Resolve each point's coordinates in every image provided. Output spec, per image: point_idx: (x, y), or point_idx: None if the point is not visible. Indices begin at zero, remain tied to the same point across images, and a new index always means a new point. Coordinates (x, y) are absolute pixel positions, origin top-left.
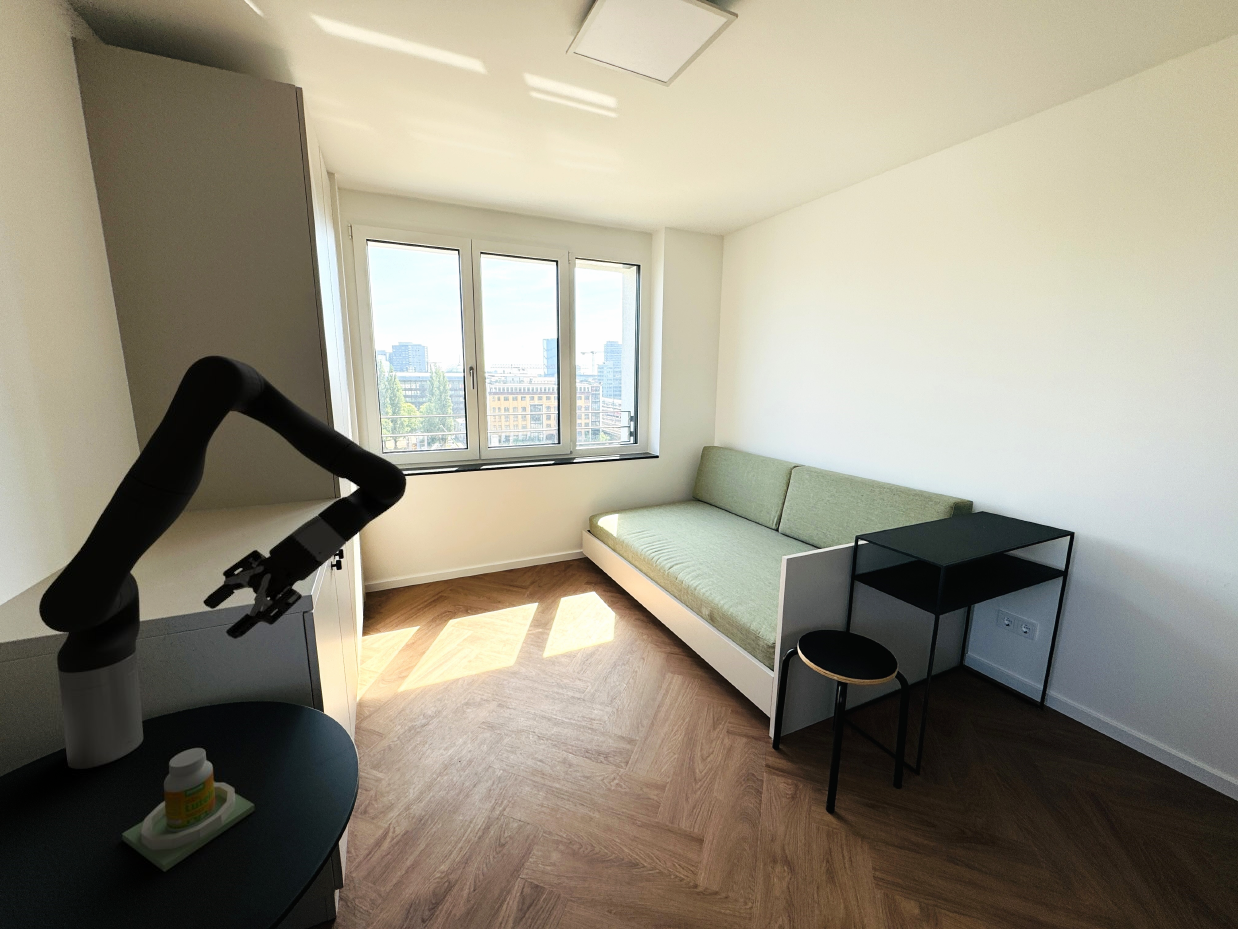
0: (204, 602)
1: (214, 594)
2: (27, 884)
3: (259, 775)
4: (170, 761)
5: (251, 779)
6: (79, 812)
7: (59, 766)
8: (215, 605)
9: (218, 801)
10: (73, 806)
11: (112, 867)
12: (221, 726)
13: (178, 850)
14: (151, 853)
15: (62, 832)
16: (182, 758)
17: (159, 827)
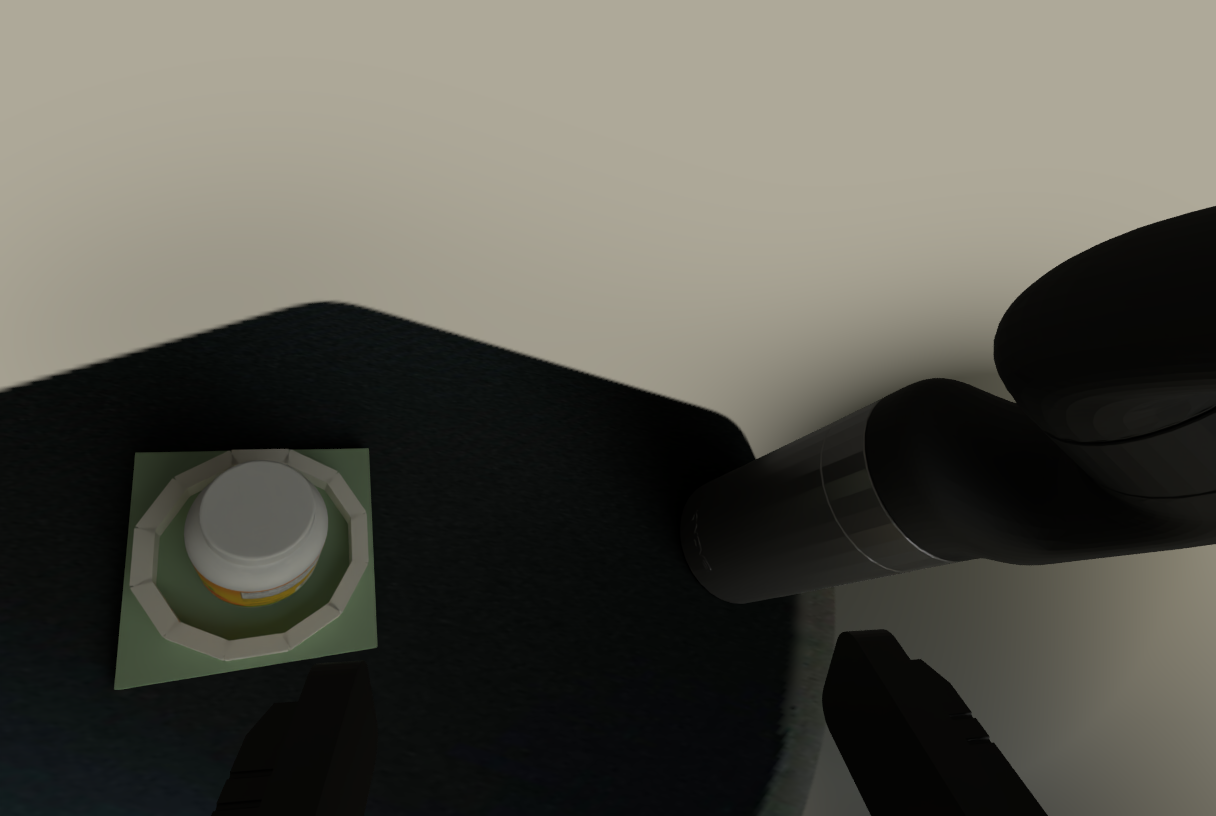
0: (866, 631)
1: (921, 716)
2: (400, 335)
3: None
4: (290, 469)
5: None
6: (548, 444)
7: None
8: (842, 724)
9: (255, 622)
10: (578, 445)
11: (290, 413)
12: (648, 759)
13: (153, 489)
14: (219, 454)
15: (507, 409)
16: (269, 496)
17: None
